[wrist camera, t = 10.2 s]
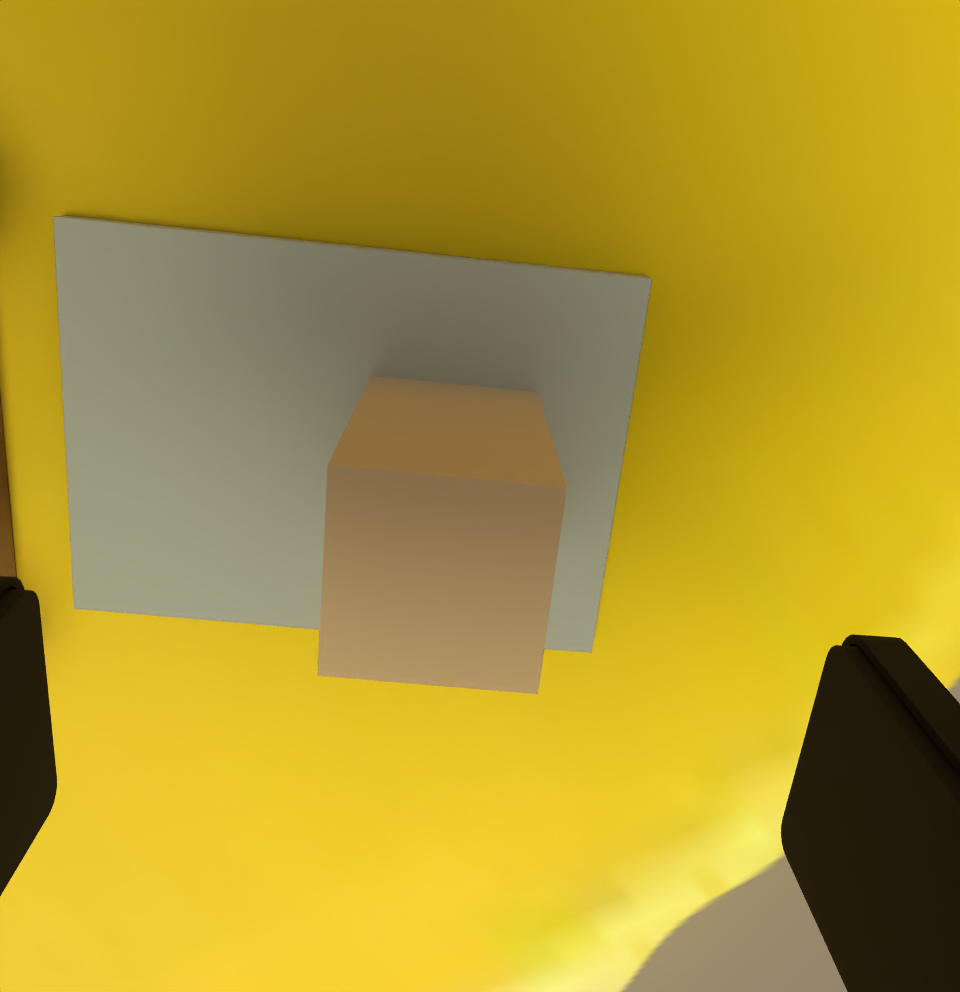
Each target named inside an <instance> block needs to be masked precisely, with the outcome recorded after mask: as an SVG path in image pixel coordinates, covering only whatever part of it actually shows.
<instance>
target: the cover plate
mask: <svg viewBox="0 0 960 992" xmlns="http://www.w3.org/2000/svg"><path fill="white" fill-rule="evenodd" d="M53 223H54V241H55V260H56V279H57V297H58V316H59V335H60V354H61V372H62V391H63V410H64V428H65V447H66V466H67V484H68V503H69V522H70V541H71V559H72V578H73V597H74V609H86V610H97V611H109V612H121V613H132V614H144V615H156V616H167V617H179V618H191V619H203V620H214V621H226V622H238V623H249V624H261V625H273V626H284V627H296V628H308V629H320V634H319V655H318V676H329V677H341V678H353V679H365V680H377V681H389V682H401V683H413V684H425V685H437V686H449V687H461V688H473V689H485V690H497V691H509V692H521V693H533V694H538V689H539V682H540V675H541V668H542V661H543V654H544V649H553V650H565V651H577V652H589V653H592V646H593V640H594V634H595V628H596V622H597V616H598V609H599V603H600V597H601V591H602V585H603V579H604V572H605V566H606V560H607V554H608V548H609V542H610V535H611V529H612V523H613V517H614V511H615V505H616V498H617V492H618V486H619V480H620V474H621V468H622V461H623V455H624V449H625V443H626V437H627V431H628V424H629V418H630V412H631V406H632V400H633V394H634V387H635V381H636V375H637V369H638V363H639V357H640V350H641V344H642V338H643V332H644V326H645V320H646V313H647V307H648V301H649V295H650V289H651V283H652V279H651V278H650V277H648V276H644V275H634V274H624V273H615V272H605V271H596V270H586V269H576V268H567V267H557V266H547V265H538V264H528V263H519V262H509V261H499V260H490V259H480V258H471V257H461V256H451V255H442V254H432V253H423V252H413V251H403V250H394V249H384V248H375V247H365V246H355V245H346V244H336V243H327V242H317V241H307V240H298V239H288V238H279V237H269V236H259V235H250V234H240V233H231V232H221V231H211V230H202V229H192V228H183V227H173V226H163V225H154V224H144V223H135V222H125V221H115V220H106V219H96V218H86V217H77V216H67V215H63V216H54V217H53Z"/></svg>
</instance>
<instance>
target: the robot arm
mask: <svg viewBox="0 0 960 992" xmlns="http://www.w3.org/2000/svg"><path fill="white" fill-rule="evenodd" d="M56 789H57V775H56V765H55V755H54V745H53V735H52V725H51V715H50V705H49V695H48V685H47V675H46V665H45V655H44V645H43V636H42V626H41V616H40V606H39V600H38V597H37V595H36V593H35V592H34V591H31V590H24V587H23V585H22V583H21V581H20V580H19V579H18V578H17V577H9V576H0V896H1V894H2V892H3V891H4V889H5V887H6V886H7V884H8V882H9V881H10V879H11V877H12V876H13V874H14V872H15V871H16V869H17V867H18V866H19V864H20V862H21V861H22V859H23V857H24V855H25V854H26V852H27V850H28V849H29V847H30V845H31V844H32V842H33V840H34V839H35V837H36V835H37V834H38V832H39V830H40V829H41V827H42V825H43V824H44V822H45V820H46V819H47V817H48V815H49V813H50V811H51V809H52V806H53V803H54V800H55V795H56ZM781 838H782V845H783V850H784V852H785V855H786V857H787V860H788V862H789V864H790V866H791V868H792V870H793V872H794V875H795V877H796V879H797V882H798V884H799V886H800V888H801V890H802V893H803V895H804V897H805V899H806V901H807V903H808V906H809V908H810V910H811V912H812V914H813V917H814V919H815V921H816V923H817V925H818V927H819V929H820V932H821V934H822V936H823V938H824V941H825V943H826V945H827V947H828V950H829V952H830V954H831V956H832V958H833V960H834V963H835V965H836V967H837V969H838V972H839V974H840V976H841V978H842V980H843V983H844V984H845V987H846V989H847V991H848V992H960V704H959V702H958V701H957V700H956V699H955V698H954V697H953V696H952V694H951V693H950V692H949V691H948V690H947V689H946V688H945V687H944V685H943V684H942V683H941V682H940V681H939V680H938V679H937V677H936V676H935V675H934V674H933V673H932V672H931V671H930V670H929V668H928V667H927V666H926V665H925V664H924V663H923V662H922V660H921V659H920V658H919V657H918V656H917V655H916V654H915V652H914V651H913V650H912V649H911V648H910V647H909V646H908V645H907V643H906V642H904V641H903V640H902V639H901V638H895V637H881V636H866V635H850V636H848V637H847V638H846V639H845V640H844V642H843V643H842V646H839V645H835V646H833V647H832V648H831V649H830V650H829V652H828V655H827V657H826V661H825V664H824V668H823V672H822V675H821V679H820V683H819V687H818V690H817V694H816V698H815V701H814V705H813V709H812V712H811V716H810V720H809V723H808V727H807V731H806V734H805V738H804V742H803V745H802V749H801V753H800V757H799V760H798V764H797V768H796V771H795V775H794V779H793V782H792V786H791V790H790V793H789V797H788V801H787V804H786V808H785V812H784V816H783V819H782V825H781Z"/></svg>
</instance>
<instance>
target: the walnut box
mask: <svg viewBox="0 0 960 992" xmlns="http://www.w3.org/2000/svg"><path fill="white" fill-rule="evenodd" d="M0 576H9V577H16V568H15V557H14V546H13V534H12V523H11V512H10V501H9V490H8V479H7V467H6V456H5V445H4V434H3V423H2V412H1V400H0Z"/></svg>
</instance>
